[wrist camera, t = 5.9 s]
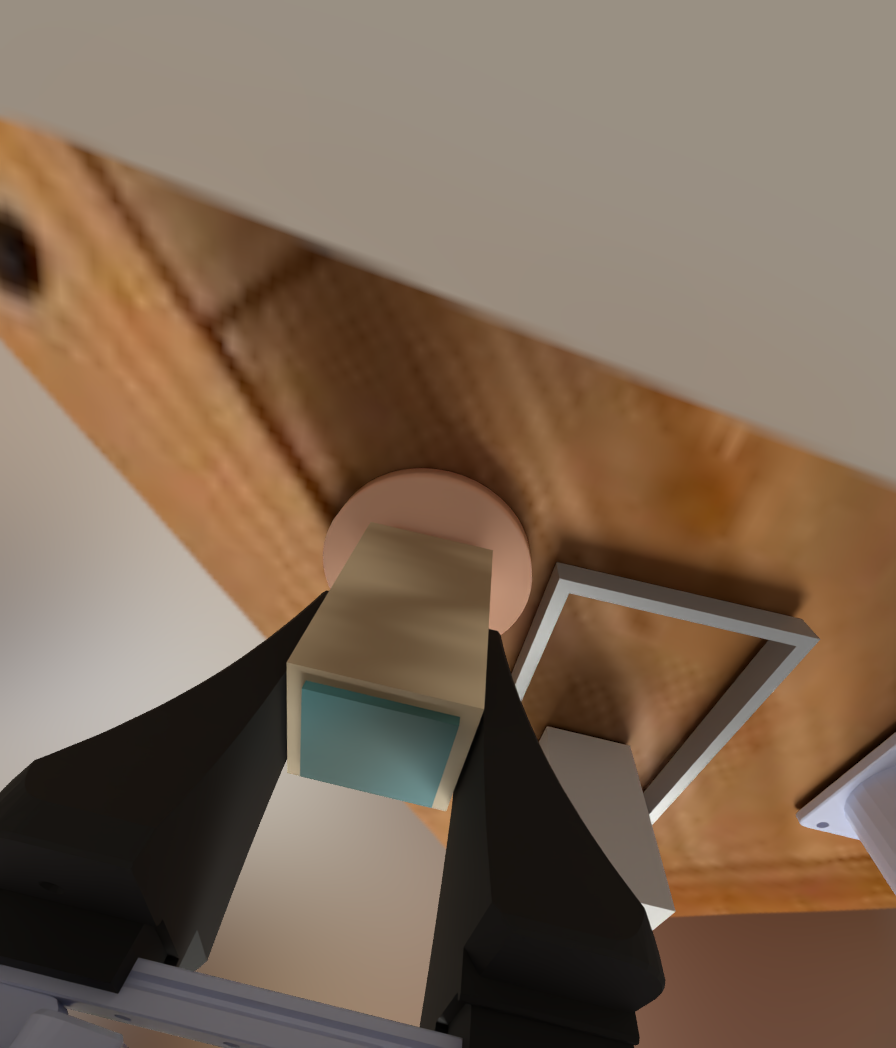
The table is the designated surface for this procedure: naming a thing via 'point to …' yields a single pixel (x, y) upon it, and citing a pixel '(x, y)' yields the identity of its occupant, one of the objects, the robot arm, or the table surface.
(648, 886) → the grey block
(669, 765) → the open rectangular frame
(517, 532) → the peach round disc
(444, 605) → the tan and teal block
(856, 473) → the table surface
